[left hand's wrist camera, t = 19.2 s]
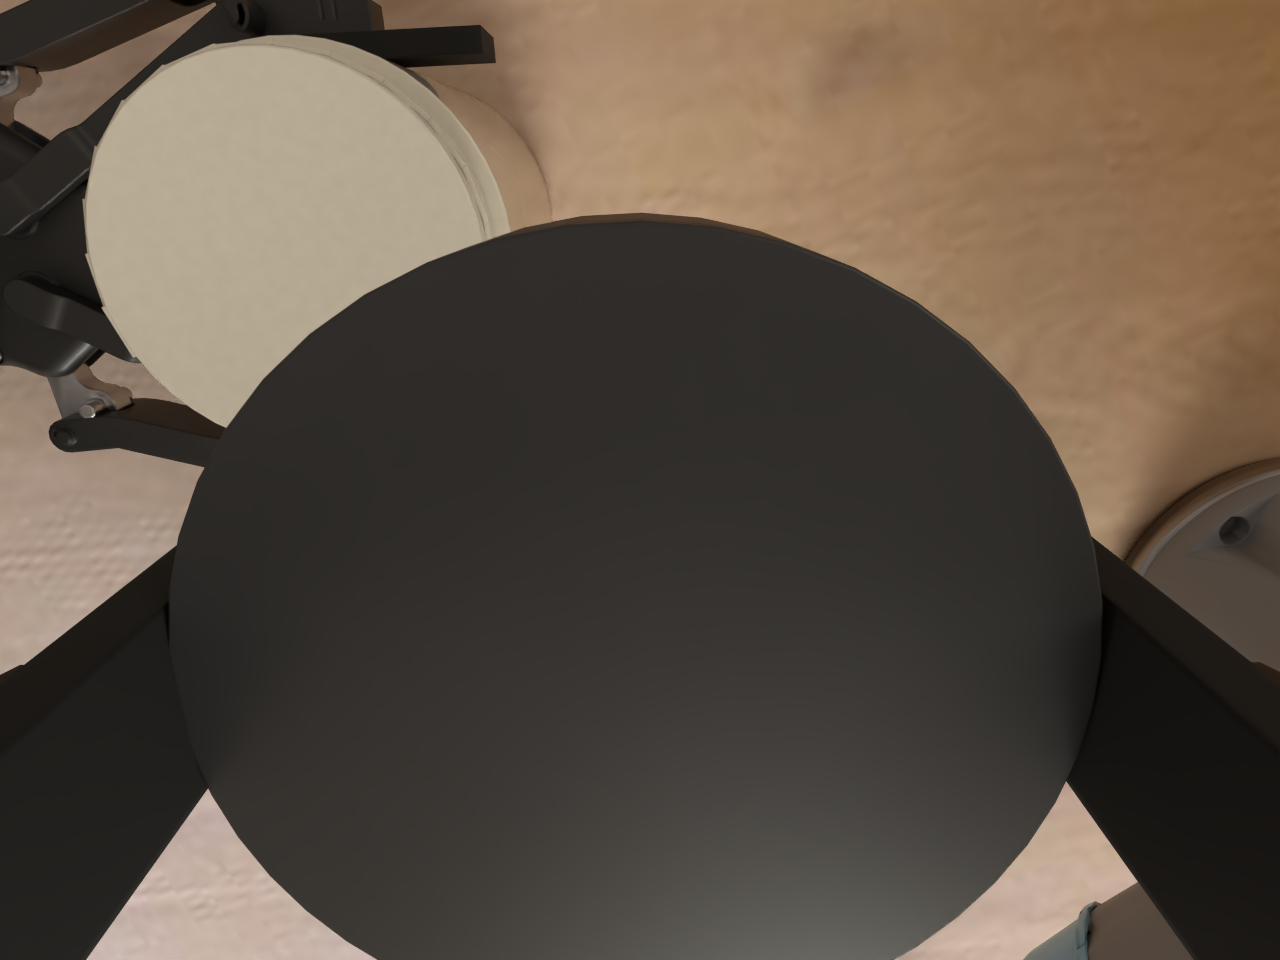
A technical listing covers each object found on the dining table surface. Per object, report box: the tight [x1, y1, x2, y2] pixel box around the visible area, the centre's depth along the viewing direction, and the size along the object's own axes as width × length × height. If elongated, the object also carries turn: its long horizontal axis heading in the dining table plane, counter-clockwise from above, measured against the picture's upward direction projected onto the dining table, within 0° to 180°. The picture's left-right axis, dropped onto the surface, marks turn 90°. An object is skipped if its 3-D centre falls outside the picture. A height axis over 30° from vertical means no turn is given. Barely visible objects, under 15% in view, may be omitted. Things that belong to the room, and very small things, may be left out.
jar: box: [82, 35, 552, 427], centre depth 27 cm, size 10×10×15 cm
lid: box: [168, 213, 1102, 960], centre depth 11 cm, size 11×11×2 cm
